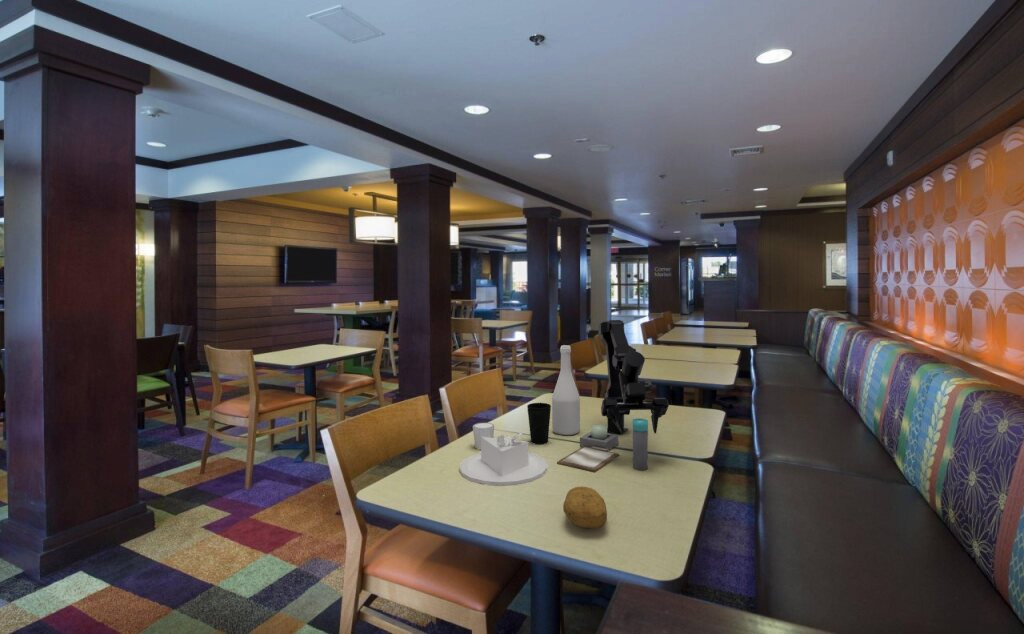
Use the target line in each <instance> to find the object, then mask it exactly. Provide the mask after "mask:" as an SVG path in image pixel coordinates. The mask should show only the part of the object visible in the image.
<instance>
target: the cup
mask: <svg viewBox="0 0 1024 634" xmlns="http://www.w3.org/2000/svg"><path fill="white" fill-rule="evenodd" d="M526 407H527V414H528V415H527V417H528V427H529V435H530V443H531V442H532V444H533V443H535V444H534V445H544V443H546V444H547V442H549V434H550V423H551V422H550V419H551V412H552V404H549V403H545V402H532V403H529V404H527V406H526Z"/></svg>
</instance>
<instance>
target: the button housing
mask: <svg viewBox="0 0 1024 634" xmlns="http://www.w3.org/2000/svg"><path fill="white" fill-rule="evenodd" d="M618 445H619V434H615V433H610V432H607V439H605V440H599V439H594V438H591V431H589V432H587V433H586V434H584V435H582V436H580V437H579V448H581V447H583V446H584V447H589V448H591V447H593V446H594V447H599V448H604V449H608V450H609V451H610V450H611V449H613V448H615V447H616V446H618Z"/></svg>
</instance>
